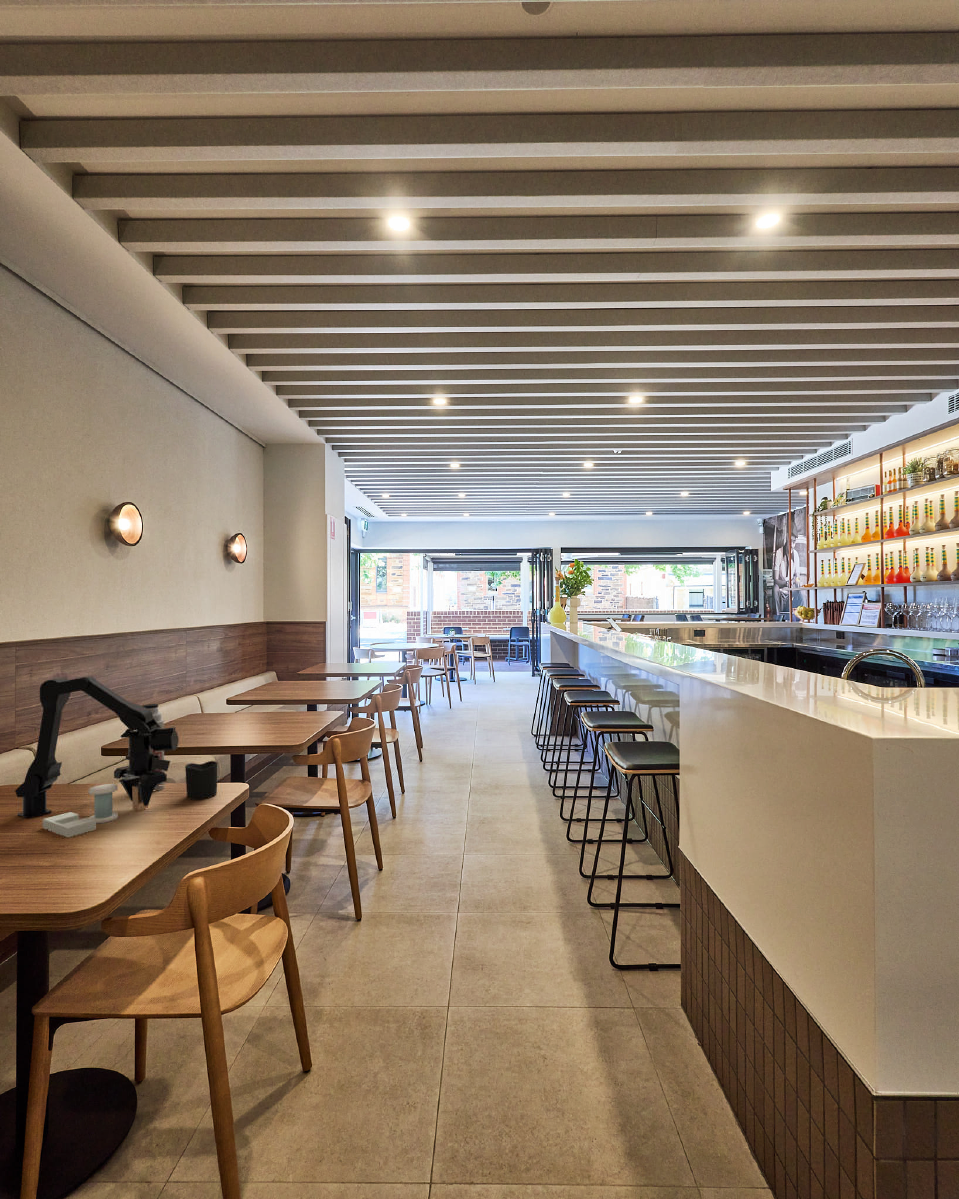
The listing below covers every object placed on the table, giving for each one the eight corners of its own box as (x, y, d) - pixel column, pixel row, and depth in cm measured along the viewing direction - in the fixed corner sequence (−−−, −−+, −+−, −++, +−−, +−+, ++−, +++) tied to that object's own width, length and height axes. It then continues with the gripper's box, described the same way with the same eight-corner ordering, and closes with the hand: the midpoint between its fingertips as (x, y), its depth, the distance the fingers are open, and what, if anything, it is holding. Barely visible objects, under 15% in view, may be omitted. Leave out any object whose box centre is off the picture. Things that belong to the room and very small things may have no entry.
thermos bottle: (167, 789, 210) (166, 704, 210) (140, 794, 204) (139, 707, 205) (160, 784, 216) (159, 702, 216) (134, 789, 210) (133, 704, 211)
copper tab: (132, 809, 188) (132, 786, 189) (142, 807, 191) (142, 783, 191) (138, 811, 187) (137, 787, 187) (148, 808, 189) (147, 785, 189)
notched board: (42, 828, 173) (42, 819, 173) (70, 820, 179) (70, 812, 179) (67, 837, 166) (67, 828, 166) (95, 829, 172) (95, 820, 172)
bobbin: (84, 820, 179) (84, 788, 179) (110, 813, 185) (109, 782, 185) (97, 825, 175) (96, 792, 175) (122, 817, 181) (122, 786, 181)
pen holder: (205, 801, 196) (204, 768, 196) (178, 799, 198) (178, 767, 198) (224, 792, 205) (223, 761, 205) (198, 791, 207) (198, 760, 207)
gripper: (183, 749, 191) (183, 801, 191) (148, 743, 201) (149, 792, 201) (146, 757, 181) (147, 812, 181) (112, 750, 192) (113, 802, 191)
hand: (140, 804), depth 189 cm, fingers open, 6 cm apart
